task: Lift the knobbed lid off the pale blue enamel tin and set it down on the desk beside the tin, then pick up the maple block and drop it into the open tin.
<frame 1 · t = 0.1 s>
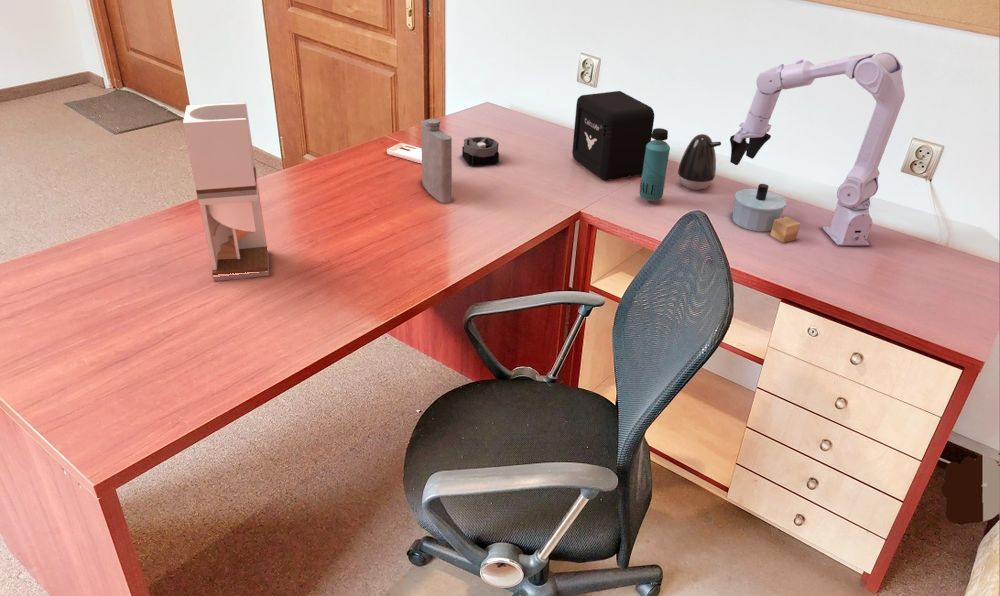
hand: (741, 160, 204), 11 cm above the table, tool pointing down, fingers open, 7 cm apart
block: (783, 237, 189), on the table
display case: (242, 267, 168), on the table
cpu cooler: (480, 160, 226), on the table
beverage bottle: (649, 201, 205), on the table
lid: (760, 200, 193), point 6 cm above the table, touching tin
pump dispenser: (694, 187, 214), on the table
hip flask: (435, 192, 206), on the table
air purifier: (606, 168, 224), on the table
tin: (755, 221, 196), on the table
phone case: (413, 156, 227), on the table
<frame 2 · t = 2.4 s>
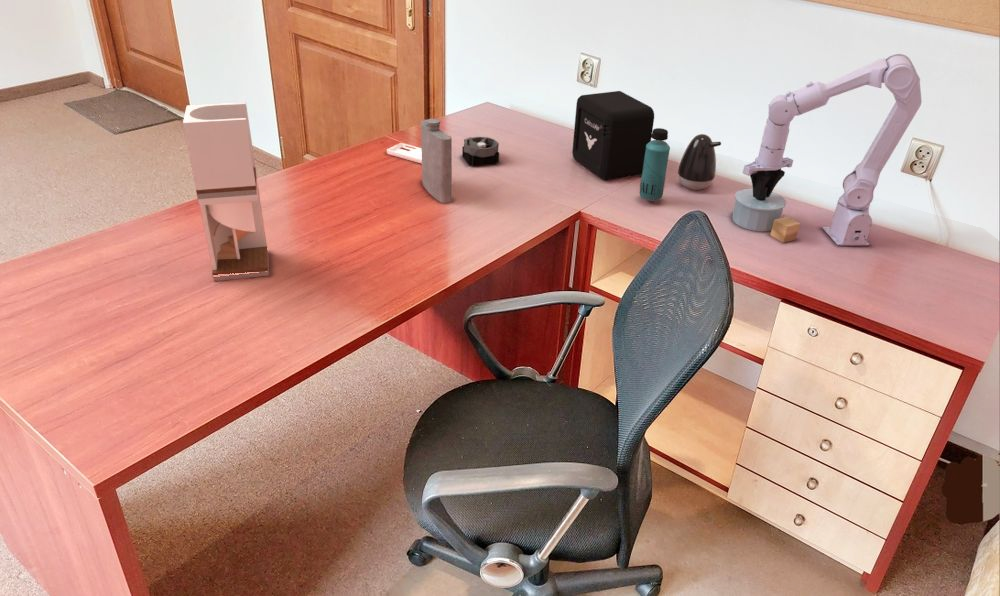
hand: (761, 196, 193), 7 cm above the table, tool pointing down, fingers closed on lid, 2 cm apart
lid: (760, 200, 193), point 6 cm above the table, touching gripper, tin
everything else where it was.
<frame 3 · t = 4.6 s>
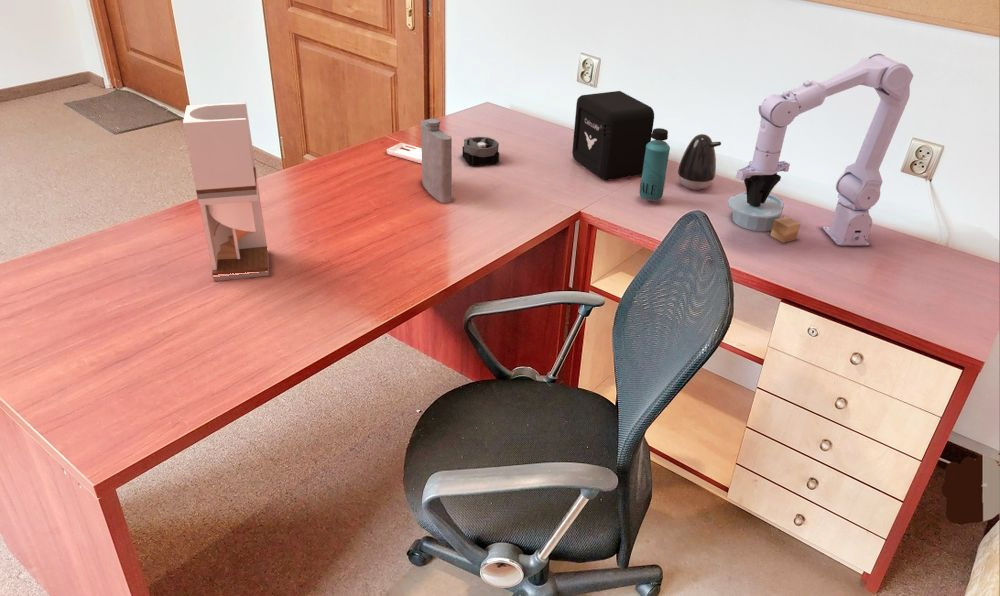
hand: (755, 202, 181), 10 cm above the table, tool pointing down, fingers closed on lid, 2 cm apart
lid: (754, 206, 182), point 9 cm above the table, touching gripper
everything else where it was.
when the fingers open (2 cm above the table, at t = 7.0 s): lid stays where it is, point 1 cm above the table.
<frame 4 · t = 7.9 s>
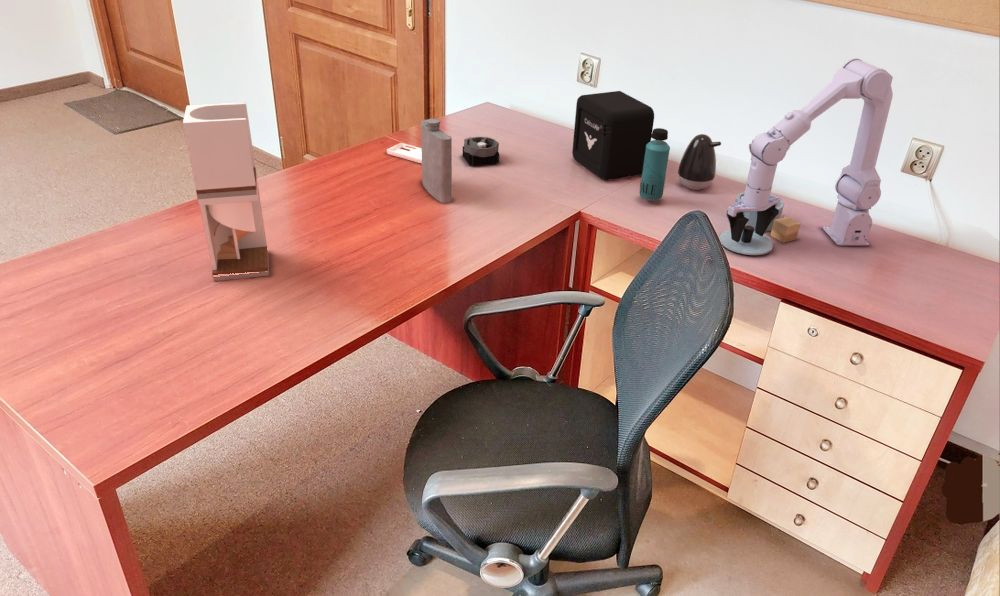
hand: (747, 237, 184), 2 cm above the table, tool pointing down, fingers open, 7 cm apart
lid: (745, 242, 185), point 1 cm above the table
everything else where it was.
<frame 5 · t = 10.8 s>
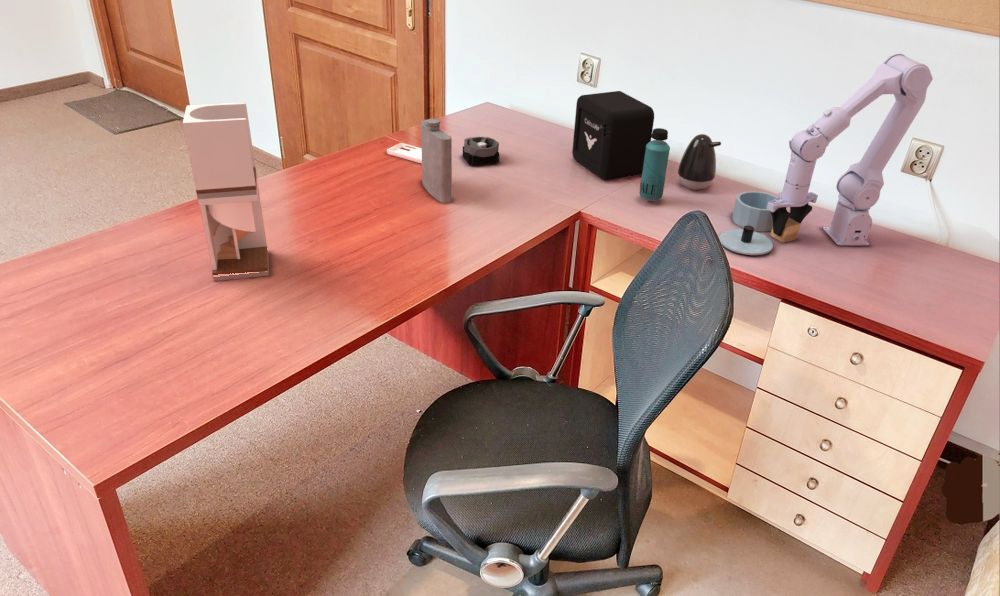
hand: (784, 232, 188), 1 cm above the table, tool pointing down, fingers closed on block, 4 cm apart
block: (783, 237, 189), on the table, touching gripper
everything else where it was.
when the fingers open (4 cm above the table, at t = 15.2 s): block drops 2 cm, resting on tin.
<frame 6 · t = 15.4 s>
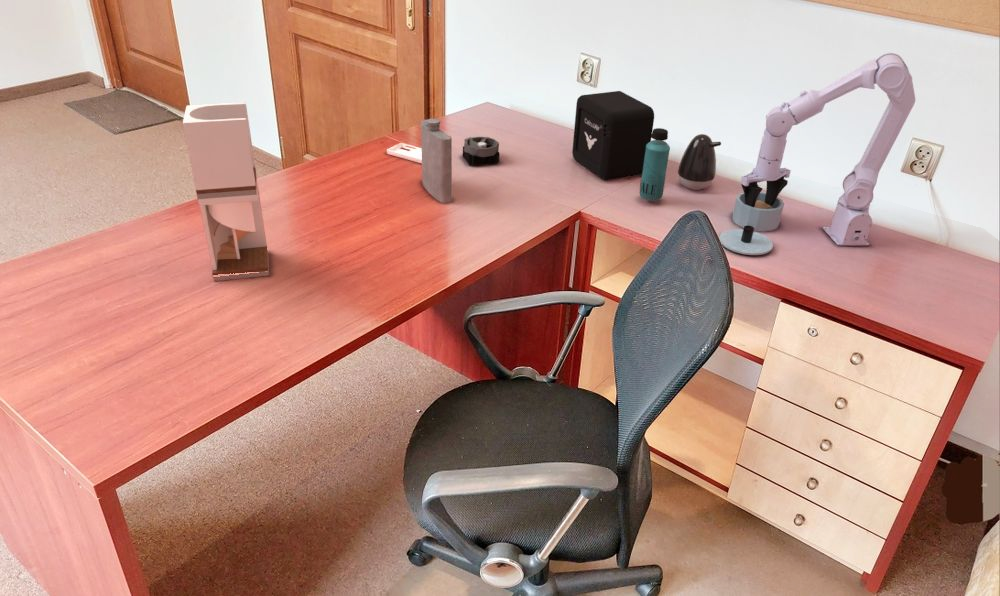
hand: (758, 206, 194), 4 cm above the table, tool pointing down, fingers open, 6 cm apart
block: (755, 219, 196), resting on tin
everything else where it was.
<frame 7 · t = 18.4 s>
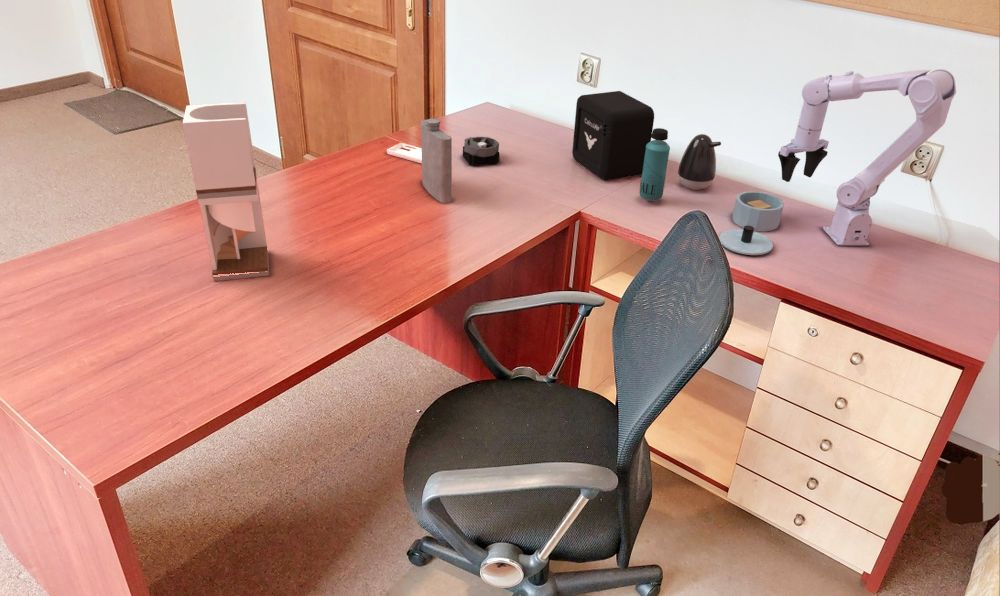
hand: (796, 178, 195), 10 cm above the table, tool pointing down, fingers open, 7 cm apart
nothing on the table moved.
at the end: lid inside the target area on the table beside the tin (0.1 cm from its centre), point 0.6 cm above the table; lid tilted 0°; block inside the target area in the tin (0.0 cm from its centre), point 0.4 cm above the tin's base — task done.
